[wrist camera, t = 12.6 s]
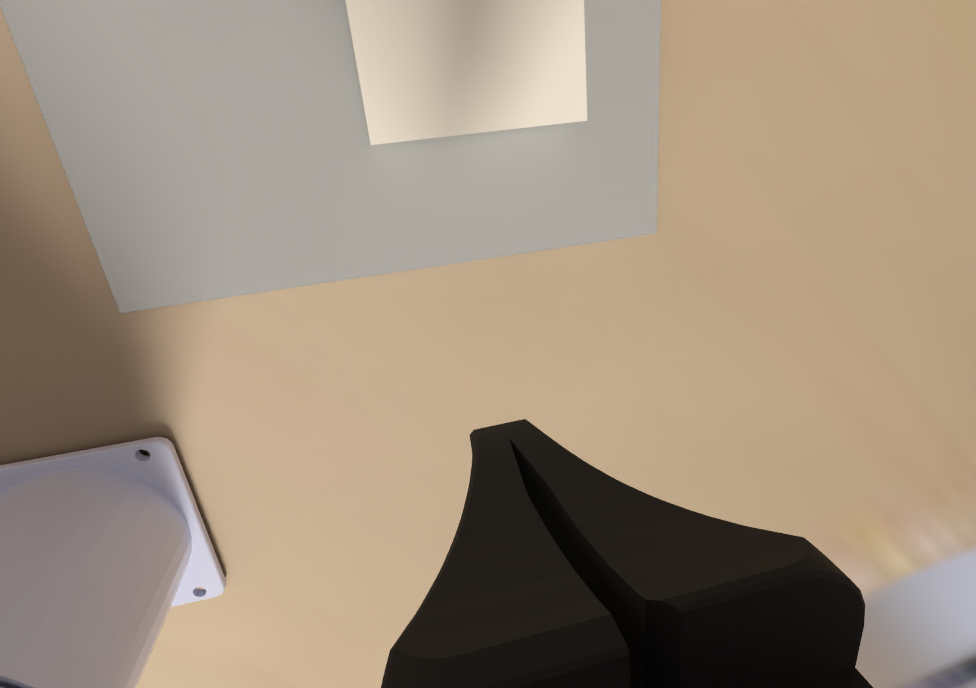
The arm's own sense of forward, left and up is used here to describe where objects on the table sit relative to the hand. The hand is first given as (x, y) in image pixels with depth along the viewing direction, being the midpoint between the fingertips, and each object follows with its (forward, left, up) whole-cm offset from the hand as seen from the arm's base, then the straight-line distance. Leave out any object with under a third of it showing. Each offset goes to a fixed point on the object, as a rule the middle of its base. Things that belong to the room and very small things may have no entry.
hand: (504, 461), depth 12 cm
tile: (-2, +11, -8) cm, 14 cm away
